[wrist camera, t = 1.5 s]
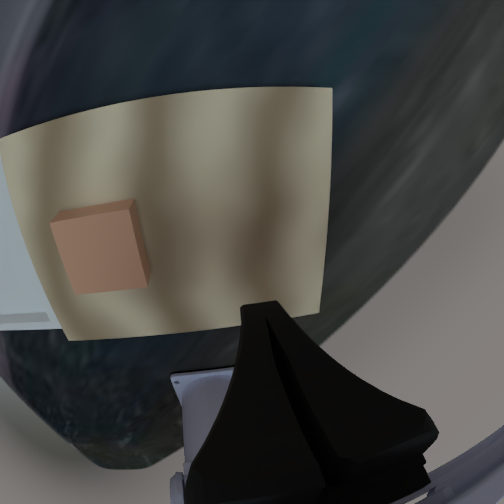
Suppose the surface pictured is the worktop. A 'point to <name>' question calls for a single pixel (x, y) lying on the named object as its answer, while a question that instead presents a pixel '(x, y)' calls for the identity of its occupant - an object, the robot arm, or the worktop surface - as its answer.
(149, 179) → the chopping board
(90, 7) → the worktop surface
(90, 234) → the terracotta tile
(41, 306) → the tray
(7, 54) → the worktop surface
